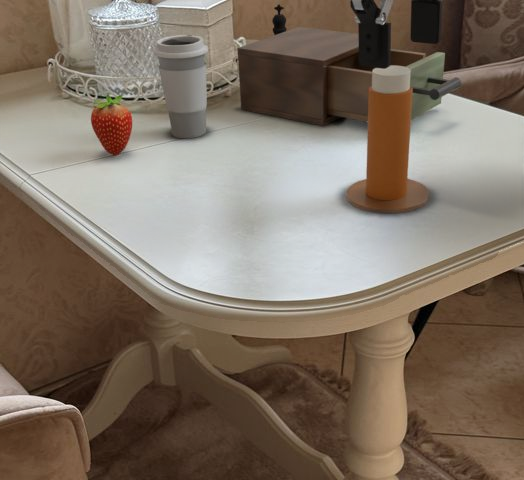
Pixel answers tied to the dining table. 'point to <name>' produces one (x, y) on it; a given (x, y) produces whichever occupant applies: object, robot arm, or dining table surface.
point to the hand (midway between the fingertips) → (400, 54)
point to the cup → (184, 83)
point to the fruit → (112, 124)
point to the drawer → (360, 80)
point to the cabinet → (292, 72)
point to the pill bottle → (388, 133)
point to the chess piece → (279, 21)
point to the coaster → (411, 201)
